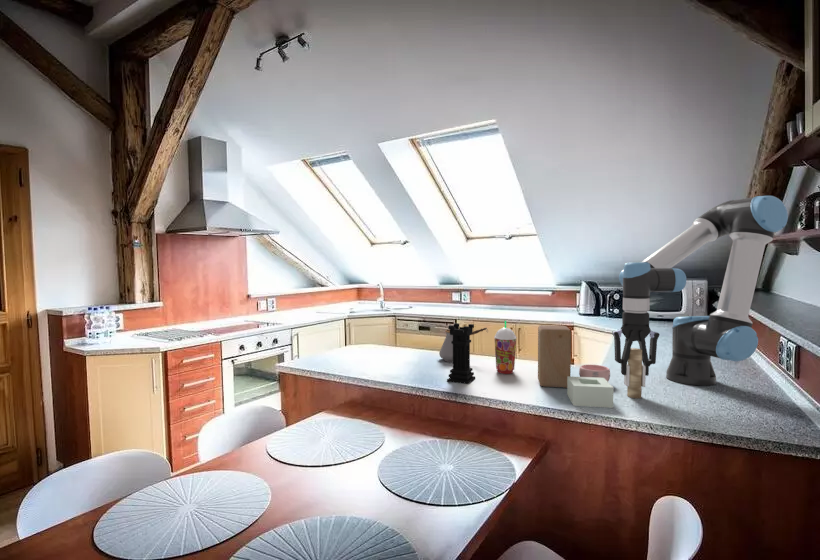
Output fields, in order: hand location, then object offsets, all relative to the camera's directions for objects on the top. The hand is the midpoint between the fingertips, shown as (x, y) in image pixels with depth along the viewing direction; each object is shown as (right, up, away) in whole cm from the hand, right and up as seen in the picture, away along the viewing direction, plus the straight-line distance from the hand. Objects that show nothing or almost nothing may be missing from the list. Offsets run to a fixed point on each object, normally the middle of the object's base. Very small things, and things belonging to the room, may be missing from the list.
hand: (634, 385), depth 141 cm
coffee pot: (-48, -2, +51) cm, 70 cm away
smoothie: (-34, -3, +31) cm, 46 cm away
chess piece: (-52, -3, +20) cm, 56 cm away
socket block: (-16, -4, -4) cm, 17 cm away
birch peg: (0, -4, 0) cm, 4 cm away
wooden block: (-21, -3, +15) cm, 26 cm away
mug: (-6, -3, +15) cm, 17 cm away
